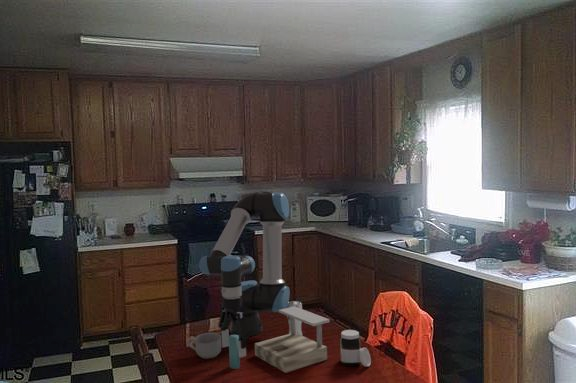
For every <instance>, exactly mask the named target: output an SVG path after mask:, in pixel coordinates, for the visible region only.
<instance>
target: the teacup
mask: <svg viewBox="0 0 576 383" xmlns="http://www.w3.org/2000/svg"><path fill="white" fill-rule="evenodd" d="M191 341H193V342H194V344H195V345H193V344H192V343H191ZM187 344H188V346H189V348H190V349H192V350H194V352H196V354H197V356H199V358H202V359H203V360H209V359H210V358H211V359H215V358H216V357H217V356H218V355H219V354H220V353H221V351H222V334H220V333H217V332H204V333H201V334H198V335H196V337H193V336H192V337H189V339H188V340H187Z"/></svg>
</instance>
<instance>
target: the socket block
mask: <svg viewBox="0 0 576 383" xmlns="http://www.w3.org/2000/svg"><path fill="white" fill-rule="evenodd" d="M254 356H255V357H256V358H259V359H261V360H262V361H265V363H267V364H269V365H271V366H273V367H274V368H276V369H278V370H280V371H281V372H284V373H290V372H292V371H296V370H298V369H301V368H305V367H308V366H311V365H314V364H317V363H320V362H323V361H326V360H328V346H326V345H323V344H322V347H320V348H319V347H317V341H315V340H313V339H310V338H308V337H306V336H303V335H302V336H301V335H299V334H297V333H296V335H294V336H293V335H291V334H289V333H288V334H285V335H281V336H277V337H272V338H270V339H265V340H262V341H259V342H255V343H254Z"/></svg>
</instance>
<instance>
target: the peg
mask: <svg viewBox="0 0 576 383" xmlns="http://www.w3.org/2000/svg"><path fill="white" fill-rule="evenodd" d="M238 339H239V336H238V335H232V334H229V346H228V351H229V352H228V356H229V357H228V358H229V369H231V368H232V369H231V370H236V369H237V370H238V369H240V368H241V357H239V344H238Z"/></svg>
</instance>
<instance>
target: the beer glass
mask: <svg viewBox="0 0 576 383" xmlns="http://www.w3.org/2000/svg"><path fill="white" fill-rule="evenodd" d="M293 306H295V307H297V308H300V309H303V303H302V301H298V300H293V301H292V300H291V301H288V303H287V307H286V308H289V307H293ZM286 317H287V321H288V322H287V323H288V326H289V328H288V329H289V330H288V334H291V318H290V317H289V316H287V315H286ZM302 323H303V322H302V321H299V320H297V319H295V325H296V333H297V334H299V335H301V336H303V331H302Z"/></svg>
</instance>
